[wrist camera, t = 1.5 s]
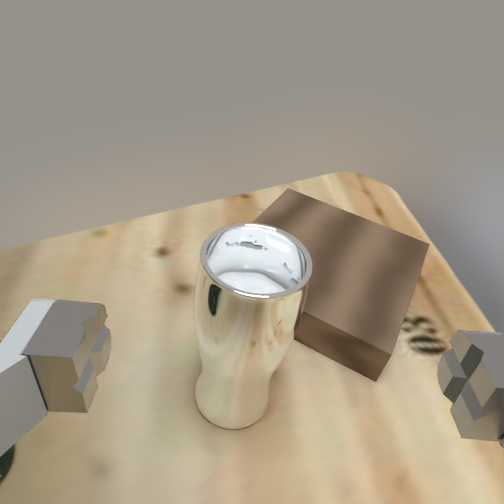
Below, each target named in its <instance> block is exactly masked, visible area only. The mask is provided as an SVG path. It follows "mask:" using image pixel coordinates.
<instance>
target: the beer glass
mask: <svg viewBox="0 0 504 504" xmlns="http://www.w3.org/2000/svg"><path fill="white" fill-rule="evenodd" d="M311 273H312V259H311V256H310V254H309V252H308V250H307V249H306V248H305V246H304V245H303V244H302V243H301V242H300V241H299V240H298V239H297V238H295V237H294V236H292V235H291V234H289V233H287V232H286V231H283V230H281V229H279V228H276V227H273V226H270V225H265V224H260V223H237V224H231V225H228V226H225V227H222V228H220V229H218V230H216V231H214V232H213V233H212V234H210V235H209V236H208V237H207V238H206V240H205V241H204V243H203V245H202V247H201V252H200V263H199V268H198V274H197V280H196V286H195V297H194V324H195V332H196V338H197V343H198V347H199V352H200V356H201V361H202V368H201V369H202V370H201V372H200V375H199V377H198V380H197V383H196V387H195V399H196V403H197V406H198V408H199V410H200V412H201V413H202V415H203V416H204V417H205V418H206V419H207V420H208V421H210V422H211V423H213V424H214V425H216V426H219V427H221V428H225V429H242V428H245V427H248V426H250V425H252V424H254V423H255V422H257V421H258V420H259V419H260V418H261V417H262V416H263V414H264V413H265V411H266V409H267V407H268V404H269V399H270V378H271V376H272V375H273V373H274V371H275V370H276V368H277V367H278V365H279V364H280V362H281V361H282V359H283V357H284V356H285V354H286V353H287V351H288V349H289V347H290V345H291V343H292V341H293V339H294V337H295V335H296V332H297V329H298V327H299V324H300V321H301V317H302V314H303V310H304V306H305V301H306V296H307V291H308V285H309V280H310V276H311Z"/></svg>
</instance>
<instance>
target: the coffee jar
mask: <svg viewBox="0 0 504 504" xmlns="http://www.w3.org/2000/svg"><path fill="white" fill-rule="evenodd" d="M13 452H14V445H13V446H12V447H11V448H9V449H8V450H7V451H6V452H5V453H4V454H3V455H2V456H1V457H0V478H1V477H2V476H3V474H4V473H5V472H6V470H7V468H8V466H9V464H10V462H11V460H12V457H13Z"/></svg>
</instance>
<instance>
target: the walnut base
mask: <svg viewBox="0 0 504 504" xmlns="http://www.w3.org/2000/svg"><path fill="white" fill-rule="evenodd" d="M252 223H260V224H265V225H270V226H273V227H276V228H279V229H281V230H283V231H286V232H287V233H289V234H291V235H292V236H294V237H295V238H297V239H298V240H299V241H300V242H301V243H302V244H303V245H304V246H305V248H306V249H307V250H308V252H309V254H310V256H311V259H312V273H311V276H310V280H309V285H308V291H307V296H306V301H305V306H304V310H303V314H302V317H301V321H300V324H299V327H298V329H297V332H296V335H295V337H294V339H295V340H297V341H299V342H301V343H302V344H304V345H306V346H308V347H310V348H312V349H314V350H316V351H318V352H320V353H322V354H324V355H326V356H328V357H329V358H331V359H333V360H335V361H337V362H339V363H341V364H343V365H345V366H347V367H349V368H351V369H353V370H355V371H356V372H358V373H360V374H362V375H364V376H366V377H368V378H370V379H372V380H374V381H376V380H377V379H378V377H379V375H380V374H381V372H382V370H383V368H384V367H385V365H386V363H387V362H388V360H389V358H390V357H391V355H392V352H393V349H394V346H395V343H396V341H397V338H398V335H399V332H400V329H401V326H402V323H403V320H404V317H405V314H406V312H407V309H408V306H409V303H410V300H411V297H412V294H413V291H414V288H415V285H416V282H417V280H418V277H419V274H420V271H421V268H422V265H423V262H424V259H425V256H426V253H427V251H428V248H429V245H430V244H428V243H425V242H423V241H420V240H418V239H415V238H413V237H410V236H408V235H405V234H403V233H400V232H398V231H395V230H393V229H390V228H387V227H385V226H382V225H380V224H377V223H375V222H372V221H370V220H367V219H365V218H362V217H360V216H357V215H355V214H352V213H349V212H347V211H344V210H342V209H339V208H337V207H334V206H332V205H329V204H327V203H324V202H322V201H319V200H317V199H314V198H311V197H309V196H306V195H304V194H301V193H299V192H296V191H294V190H291V189H289V188H288V189H287V190H286V191H285V192H284V193H283V194H282V195H281V196H280V197H278V198H277V199H276V200H275V201H274V202H273V203H272V204H271V205H270V206H269V207H268V208H267V209H266V210H265V211H264V212H263V213H262V214H261V215H260V216H259V217H258V218H257V219H256V220H255V221H253V222H252Z"/></svg>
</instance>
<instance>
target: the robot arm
mask: <svg viewBox="0 0 504 504" xmlns="http://www.w3.org/2000/svg"><path fill="white" fill-rule="evenodd" d="M106 318H107V313H106V308H105V305H103V304H98V303H88V302H78V301H67V300H52V299H43V298H35V299H33V300H32V301H30V302H29V303H28V305H27V306H26V307H25V309H24V310H23V312H22V313H21V314H20V316H19V317H18V319H17V320H16V321H15V323H14V324H13V326H12V327H11V329H10V330H9V331H8V333H7V334H6V336H5V337H4V338H3V340H2V341H1V343H0V457H1V456H2V455H3V454H4V453H5V452H6V451H7V450H8V449H9V448H11V447H12V446H13V445H14V444H15V443H16V442H17V441H18V440H19V439H20V438H22V437H23V436H24V435H25V434H26V433H27V432H28V431H29V430H30V429H31V428H33V427H34V426H35V425H36V424H37V423H38V422H39V421H40V420H41V419H42V418H44V417H45V416H46V415H47V414H48V412H47V411H54V412H79V413H88V410H89V408H90V405H91V403H92V400H93V398H94V395H95V393H96V390H97V388H98V385H97V380H96V376H97V375H99V374H100V373H101V372H103V371H104V370H105V367H106V365H107V362H108V359H109V354H110V349H111V335H110V330H109V329H108V328H107V327H106V326H105V325H104V323H105V320H106ZM449 342H450V344H451V346H452V349H450V350H449V351H447V352H445V353H444V354H442V357H441V359H440V361H439V363H438V373H437V376H438V381H439V385H440V388H441V390H442V393H443V394H444V395H445V396H446V397H447V398H448V399H449V400H450V401H452V402H453V404H452V407H451V410H450V412H451V414H452V417H453V419H454V421H455V424H456V426H457V428H458V431H459V433H460V435H461V438H466V439H477V440H487V441H498V442H500V443H499V444H500V445H501V446H502V447H503V448H504V333H496V332H480V331H465V330H458V331H457V332H455V333H454V334H453V336H452V338H451V339H450V341H449Z"/></svg>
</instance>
